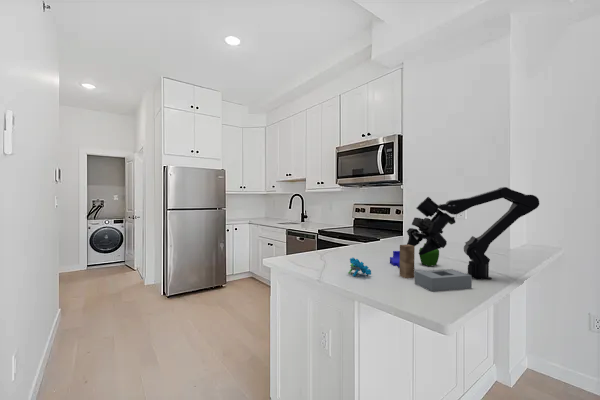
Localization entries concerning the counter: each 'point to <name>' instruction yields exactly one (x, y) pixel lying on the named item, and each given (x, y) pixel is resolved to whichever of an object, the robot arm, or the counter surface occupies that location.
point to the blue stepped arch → (395, 259)
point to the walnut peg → (407, 261)
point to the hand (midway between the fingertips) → (412, 252)
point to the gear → (358, 267)
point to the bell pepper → (430, 257)
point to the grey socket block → (443, 280)
